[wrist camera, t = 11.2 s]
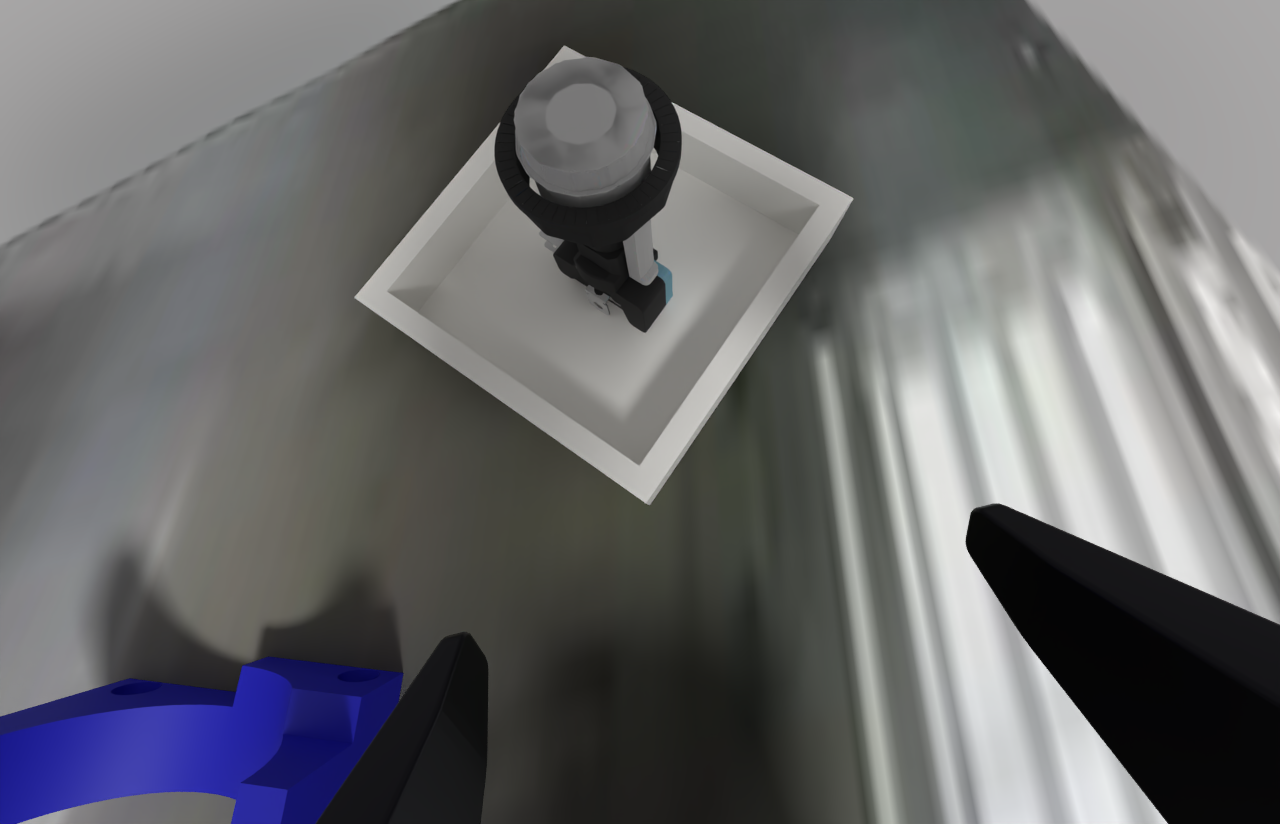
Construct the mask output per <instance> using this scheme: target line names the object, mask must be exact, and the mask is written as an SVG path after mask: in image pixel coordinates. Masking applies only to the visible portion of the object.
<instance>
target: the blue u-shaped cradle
mask: <svg viewBox="0 0 1280 824" xmlns="http://www.w3.org/2000/svg"><path fill="white" fill-rule="evenodd" d="M402 678H403V673H399V672H391V671H383V670H375V669H366V668H358V667H350V666H342V665H334V664H325V663H317V662H309V661H301V660H293V659H284V658H276V657H266V658H263V659H260V660H257V661H254V662H251V663H248V664H246V665H243V666H242V669H241V673H240V678H239V682H238V686H237V691H236V692H231V691H224V690H216V689H208V688H200V687H193V686H185V685H177V684H169V683H162V682H154V681H146V680H138V679H131V678H129V679H126V680H122V681H119V682H116V683H112V684H109V685H106V686H102V687H99V688H95V689H92V690H89V691H85V692H82V693H79V694H75V695H72V696H69V697H65V698H62V699H58V700H55V701H52V702H48V703H45V704H42V705H38V706H35V707H31V708H28V709H25V710H21V711H18V712H15V713H11V714H8V715H4V716H1V717H0V824H17V823H20V822H23V821H26V820H29V819H33V818H36V817H39V816H43V815H46V814H49V813H53V812H57V811H60V810H64V809H68V808H72V807H76V806H80V805H84V804H89V803H93V802H98V801H103V800H108V799H113V798H119V797H125V796H132V795H140V794H148V793H160V792H203V793H211V794H218V795H222V796H226V797H230V798H233V799H236V804H235V809H234V813H233V817H232V822H231V824H315V823H316V822H317V820H318V819H319V817H320V816H321V814H322V813H323V812H324V810H325V809H326V807H327V806H328V804H329V803H330V801H331V800H332V798H333V797H334V796H335V794H336V793H337V791H338V790H339V788H340V787H341V785H342V784H343V782H344V781H345V780H346V778H347V777H348V775H349V774H350V772H351V771H352V769H353V768H354V767H355V765H356V764H357V762H358V761H359V759H360V758H361V756H362V755H363V753H364V752H365V751H366V749H367V748H368V746H369V745H370V743H371V742H372V740H373V739H374V737H375V736H376V735H377V733H378V732H379V730H380V729H381V727H382V726H383V724H384V723H385V721H386V720H387V719H388V717H389V716H390V714H391V713H392V711H393V710H394V708H395V707H396V705H397V704H398V702H399V696H400V690H401V684H402Z"/></svg>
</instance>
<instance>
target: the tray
mask: <svg viewBox="0 0 1280 824" xmlns="http://www.w3.org/2000/svg"><path fill="white" fill-rule="evenodd" d="M580 58H585V56H583V55H581V54H579V53H577V52H576V51H574V50H572V49H570V48H568V47H566V46H563V47H562V49H561V50H560V51H559V52H558V53H557V55H556V56H555V57H554V58H553V60H552V61H551V62H550V63H549V64H548V66H547V67H546V68H545V69H544V70H546V69H548V68H549V67H551V66H552V65H554V64H555V63H560V62H562V61H563V60H571V59H580ZM544 70H543V71H544ZM672 104H673V106H674V107H675V110H676V112H677V114H678V117H679V121H680V125H681V131H682V151H681V160H680V165H679V168H678V171H677V174H676V177H675V179H674V181H673V184H672V187H671V190H670V193H669V196H668V199H667V202H666V205H665V207H664V208H663V209H662V210H661V211H660V212H658V213H657V214H656V215H655V216H654V217H653V218H651V229H652V243H653V248H654V249H655V250H657V251H658V259H657V260H656V261H657V262H659V263H660V264H662V265H663V266H665V267H666V268H668V269H669V270H670V271H671V273H672V292H673V296H672V298H671V299H670V300H669V302H668V303H667V305H666V306H665V308H664V309H663V310H662V312H661V313H660V314H659V316H658V317H657V318H656V320H655V321H654V323H653V324H652V325H651V327H650V328H649V329H648V331H647V332H646V333H644V332H642V331H640V330H638V329H637V328H635V327H634V326H632V325H631V324H630V323H629V321H628V320H627V318H626V316H625V314H624V312H623V310H622V309H621V308H619V307H618V306H616V305H614V304H613V303H611V302H610V301H607V303H606V304H607V305H608V309H609V312H610V315H606V314H604V313H603V312H601V311H600V310H598V309H597V308H595V307H594V306H593V305H592V304H591V303H590V302H589V299H588V296H587V294H586V293H587V292H586V291H585V289H586V287H587V286H585V285H583V284H582V283H580V282H579V281H577V280H576V279H572V278H570V277H568V276H567V275H565V274H564V273H563V272H561V270H560V269H559V268H558V265H557V263H556V261H555V259H554V257H553V254H554V252H552V251H551V250H549V249H548V248H546V247H545V245H544V244H545V242H546V241H547V240H546V239H544V238H542V237H541V236H540V235H539V232H540V231H541V230H540V229H539V228H538V227H537V226H536V225H535V224H534V223H533V222H532V221H531V220H530V219H529V218H528V216H526V215H525V214H524V213H523V212H522V211H521V210H520V209H519V208H518V207H517V206H516V205H515V204H514V203H513V201H512V200H511V199H510V197H509V196H508V194H507V192H506V190H505V188H504V186H503V184H502V182H501V180H500V178H499V175H498V172H497V168H496V164H495V157H494V147H495V139H496V134H497V130H498V127H499V125H500V123H499V124H498V126H497V127H496V128H495V129H494V130H493V132H492V133H491V134H490V135H489V136H488V138H487V139H486V140H485V141H484V142H483V144H482V145H481V146H480V147H479V148H478V150H477V151H476V152H475V153H474V154H473V156H472V157H471V158H470V159H469V160H468V162H467V163H466V164H465V165H464V166H463V168H462V169H461V170H460V171H459V172H458V174H457V175H456V176H455V177H454V178H453V180H452V181H451V182H450V183H449V184H448V186H447V187H446V188H445V189H444V190H443V192H442V193H441V194H440V195H439V196H438V198H437V199H436V200H435V201H434V202H433V204H432V205H431V206H430V207H429V209H428V210H427V211H426V212H425V213H424V215H423V216H422V217H421V218H420V219H419V221H418V222H417V223H416V224H415V225H414V227H413V228H412V229H411V230H410V231H409V233H408V234H407V235H406V236H405V237H404V239H403V240H402V241H401V242H400V243H399V245H398V246H397V247H396V248H395V249H394V251H393V252H392V253H391V254H390V255H389V257H388V258H387V259H386V260H385V261H384V263H383V264H382V265H381V266H380V267H379V269H378V270H377V271H376V272H375V273H374V275H373V276H372V277H371V278H370V279H369V281H368V282H367V283H366V284H365V285H364V287H363V288H362V289H361V290H360V291H359V293H358V294H357V295H356V296H355V297H354V298H355V299H357V300H358V301H360V302H361V303H363V304H364V305H365V306H367V307H368V308H370V309H371V310H372V311H374V312H375V313H377V314H378V315H380V316H381V317H382V318H384V319H385V320H387V321H388V322H390V323H391V324H392V325H394V326H395V327H397V328H398V329H399V330H401V331H402V332H404V333H405V334H407V335H408V336H409V337H411V338H412V339H414V340H415V341H416V342H418V343H419V344H421V345H422V346H424V347H425V348H426V349H428V350H429V351H431V352H432V353H433V354H435V355H436V356H438V357H439V358H441V359H442V360H443V361H445V362H446V363H448V364H449V365H450V366H452V367H453V368H455V369H456V370H458V371H459V372H460V373H462V374H463V375H465V376H466V377H468V378H469V379H470V380H472V381H473V382H475V383H476V384H477V385H479V386H480V387H482V388H483V389H485V390H486V391H487V392H489V393H490V394H492V395H493V396H494V397H496V398H497V399H499V400H500V401H502V402H503V403H504V404H506V405H507V406H509V407H510V408H511V409H513V410H514V411H516V412H517V413H519V414H520V415H521V416H523V417H524V418H526V419H527V420H528V421H530V422H531V423H533V424H534V425H536V426H537V427H538V428H540V429H541V430H543V431H544V432H546V433H547V434H548V435H550V436H551V437H553V438H554V439H555V440H557V441H558V442H560V443H561V444H563V445H564V446H565V447H567V448H568V449H570V450H571V451H572V452H574V453H575V454H577V455H578V456H580V457H581V458H582V459H584V460H585V461H587V462H588V463H589V464H591V465H592V466H594V467H595V468H597V469H598V470H599V471H601V472H602V473H604V474H605V475H606V476H608V477H609V478H611V479H612V480H614V481H615V482H616V483H618V484H619V485H621V486H622V487H624V488H625V489H626V490H628V491H629V492H631V493H632V494H633V495H635V496H636V497H638V498H639V499H641V500H642V501H643V502H645V503H646V504H648V505H650V504H651V503H652V501H653V500H654V499H655V497H656V496H657V494H658V493H659V491H660V490H661V488H662V487H663V485H664V484H665V482H666V481H667V479H668V478H669V476H670V475H671V473H672V472H673V471H674V469H675V468H676V466H677V465H678V463H679V462H680V460H681V459H682V457H683V456H684V454H685V453H686V451H687V450H688V448H689V447H690V445H691V444H692V442H693V441H694V440H695V438H696V437H697V435H698V434H699V432H700V431H701V429H702V428H703V426H704V425H705V423H706V422H707V420H708V419H709V417H710V416H711V414H712V413H713V412H714V410H715V409H716V407H717V406H718V404H719V403H720V401H721V400H722V398H723V397H724V395H725V394H726V392H727V391H728V389H729V388H730V386H731V385H732V383H733V382H734V381H735V379H736V378H737V376H738V375H739V373H740V372H741V370H742V369H743V367H744V366H745V364H746V363H747V361H748V360H749V358H750V357H751V355H752V354H753V353H754V351H755V350H756V348H757V347H758V345H759V344H760V342H761V341H762V339H763V338H764V336H765V335H766V333H767V332H768V330H769V329H770V327H771V326H772V324H773V323H774V322H775V320H776V319H777V317H778V316H779V314H780V313H781V311H782V310H783V308H784V307H785V305H786V304H787V302H788V301H789V299H790V298H791V296H792V295H793V294H794V292H795V291H796V289H797V288H798V286H799V285H800V283H801V282H802V280H803V279H804V277H805V276H806V274H807V273H808V271H809V270H810V268H811V267H812V265H813V264H814V263H815V261H816V260H817V258H818V257H819V255H820V254H821V252H822V251H823V249H824V248H825V246H826V245H827V243H828V242H829V240H830V239H831V237H832V235H833V234H834V232H835V230H836V228H837V227H838V225H839V223H840V221H841V220H842V218H843V216H844V214H845V213H846V211H847V209H848V207H849V205H850V204H851V202H852V200H853V198H852V197H850V196H848V195H847V194H845V193H843V192H841V191H839V190H837V189H835V188H833V187H831V186H829V185H828V184H826V183H824V182H822V181H820V180H818V179H816V178H814V177H812V176H811V175H809V174H807V173H805V172H803V171H801V170H799V169H797V168H795V167H793V166H792V165H790V164H788V163H786V162H784V161H782V160H780V159H778V158H776V157H775V156H773V155H771V154H769V153H767V152H765V151H763V150H761V149H759V148H757V147H756V146H754V145H752V144H750V143H748V142H746V141H744V140H742V139H740V138H739V137H737V136H735V135H733V134H731V133H729V132H727V131H725V130H723V129H721V128H720V127H718V126H716V125H714V124H712V123H710V122H708V121H706V120H704V119H703V118H701V117H699V116H697V115H695V114H693V113H691V112H689V111H687V110H685V109H684V108H682V107H680V106H678V105H676V104H674V103H672ZM657 158H658V154H657V152H656V150H655V149H654V148H653V150H652V153H651V155H650V159H651V170H652V169H653V167H654V165H655V163H656V161H657ZM530 187H531V188H532V189H533V190H534V191H535V192H536V193H537V194H539V195H540V193H539V190H538V188H537V185H536V183H535V180H533V179H532V178H531V177H530ZM540 196H541V195H540ZM549 237H550V236H549ZM553 247H554V248H556V247H557V246H555V245H553ZM595 303H596V302H595ZM596 304H597V305H598V306H600V305H599V304H598V303H596ZM600 307H601V306H600ZM601 308H602V307H601Z"/></svg>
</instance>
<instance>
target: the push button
mask: <svg viewBox="0 0 1280 824" xmlns="http://www.w3.org/2000/svg"><path fill="white" fill-rule="evenodd" d="M653 148H654V149H655V150H656V152H657V154H658V158H657V161H656V163H655V165H654V167H653V169H652V170H651V159H650V155H651V153H652V150H653ZM681 151H682V131H681V125H680V121H679V117H678V114H677V112H676V110H675V107H674V106H673V104H672V102H671V101H670V99H669V98H668V96H667V95H666V94H665V93H664V91H663V90H662V89H661V88H660V87H659V86H657V85H656V84H655V83H654V82H653V81H651V80H650V79H648V78H647V77H645V76H644V75H642V74H640V73H638V72H636V71H633V70H630V69H628V68H624V67H622V66H621V65H619V64H615V63H612V62H608V61H605V60H602V59H598V58H595V57H585V58H580V59H571V60H563V61H562V62H560V63H555V64H554V65H552V66H551V67H549V68H548V69H546V70H544V71H542V72H540V73H538V74H537V75H536V77H535V78H534V79H533V80H532V81H530V82H529V83H528V84H527V86H526V88H525V89H524V91H522V92H521V93H520V94H519V95H518V96H517V97H516V99H515V100H514V101H513V102H512V103H511V105H510V106H509V108H508V109H507V111H506V112H505V114H504V116H503V118H502V120H501V122H500V125H499V127H498V130H497V134H496V139H495V147H494V157H495V164H496V168H497V172H498V175H499V178H500V180H501V182H502V184H503V186H504V188H505V190H506V192H507V194H508V196H509V197H510V199H511V200H512V201H513V203H514V204H515V205H516V206H517V207H518V208H519V209H520V210H521V211H522V212H523V213H524V214H525V215H526V216H528V218H529V219H530V220H531V221H532V222H533V223H534V224H535V225H536V226H537V227H538V228H539V229H540V230H541V231H540V232H539V235H540V236H541V237H542V238H544V239H546V240H547V241H546V242H545V244H544V245H545V247H546V248H548V249H549V250H551V251H552V252H554V254H553V257H554V259H555V261H556V263H557V265H558V268H559V269H560V270H561V272H563V273H564V274H565V275H567V276H568V277H570V278H572V279H576V280H577V281H579V282H580V283H582V284H583V285H585V286H587V287H586V289H585V291H586V292H587V293H586V294H587V296H588V299H589V302H590V303H591V304H592V305H593V306H594V307H595V308H597V309H598V310H600V311H601V312H603V313H604V314H606V315H610V312H609V309H608V305H607V304H606V303H607V301H610V302H611V303H613V304H614V305H616V306H618V307H619V308H621V309H622V310H623V312H624V314H625V316H626V318H627V320H628V321H629V323H630V324H631V325H632V326H634V327H635V328H637V329H638V330H640V331H642V332H644V333H646V332H647V331H648V329H649V328H650V327H651V325H652V324H653V323H654V321H655V320H656V318H657V317H658V316H659V314H660V313H661V312H662V310H663V309H664V308H665V306H666V305H667V303H668V302H669V300H670V299H671V298H672V296H673V292H672V273H671V271H670V270H669V269H668V268H666V267H665V266H663V265H662V264H660V263H659V262H657V261H656V260H657V259H658V251H657V250H655V249H654V248H653V243H652V229H651V218H653V217H654V216H655V215H656V214H657V213H658V212H660V211H661V210H662V209H663V208H664V207H665V205H666V202H667V199H668V196H669V193H670V190H671V187H672V184H673V181H674V179H675V177H676V174H677V171H678V168H679V165H680V160H681ZM530 177H531V178H532V179H533V180H535V183H536V185H537V188H538V190H539V193H540V195H541V196H540V195H539V194H537V193H536V192H535V191H534V190H533V189H532V188H531V187H530ZM549 236H550V237H549ZM553 245H555V246H557V247H556V248H554V247H553ZM595 302H596V303H598V304H599V305H600V306H601V307H602V308H601V307H600V306H598V305H597V304H596V303H595Z"/></svg>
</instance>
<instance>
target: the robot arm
mask: <svg viewBox="0 0 1280 824" xmlns="http://www.w3.org/2000/svg"><path fill="white" fill-rule="evenodd" d="M966 547H967V550H968V552H969V554H970V556H971V557H972V559H973V561H974V562H975V564H976V565H977V567H978V568H979V570H980V572H981V573H982V575H983V576H984V578H985V579H986V581H987V583H988V584H989V586H990V587H991V589H992V590H993V592H994V594H995V595H996V597H997V598H998V600H999V601H1000V603H1001V605H1002V606H1003V608H1004V609H1005V611H1006V612H1007V614H1008V616H1009V617H1010V619H1011V620H1012V622H1013V623H1014V625H1015V626H1016V628H1017V629H1018V631H1019V632H1020V634H1021V635H1022V637H1023V638H1024V639H1025V641H1026V642H1027V643H1028V645H1029V646H1030V647H1031V649H1032V650H1033V651H1034V652H1035V654H1036V655H1037V656H1038V658H1039V659H1040V660H1041V661H1042V663H1043V664H1044V665H1045V667H1046V668H1047V669H1048V670H1049V672H1050V673H1051V674H1052V676H1053V677H1054V678H1055V679H1056V681H1057V682H1058V683H1059V685H1060V686H1061V687H1062V688H1063V690H1064V691H1065V692H1066V693H1067V695H1068V696H1069V697H1070V699H1071V700H1072V701H1073V702H1074V704H1075V705H1076V706H1077V708H1078V709H1079V710H1080V711H1081V713H1082V714H1083V715H1084V717H1085V718H1086V719H1087V720H1088V722H1089V723H1090V724H1091V726H1092V727H1093V728H1094V729H1095V731H1096V732H1097V733H1098V734H1099V736H1100V737H1101V738H1102V740H1103V741H1104V742H1105V743H1106V745H1107V746H1108V747H1109V749H1110V750H1111V751H1112V752H1113V754H1114V755H1115V756H1116V758H1117V759H1118V760H1119V761H1120V763H1121V764H1122V765H1123V767H1124V768H1125V769H1126V770H1127V772H1128V773H1129V774H1130V775H1131V777H1132V778H1133V779H1134V781H1135V782H1136V783H1137V784H1138V786H1139V787H1140V788H1141V790H1142V791H1143V792H1144V793H1145V795H1146V796H1147V797H1148V799H1149V800H1150V801H1151V802H1152V804H1153V805H1154V806H1155V807H1156V809H1157V810H1158V811H1159V813H1160V814H1161V815H1162V816H1163V818H1164V819H1165V820H1166V822H1167V823H1168V824H1280V625H1279V624H1277V623H1275V622H1272V621H1270V620H1268V619H1266V618H1263V617H1261V616H1259V615H1256V614H1254V613H1252V612H1249V611H1247V610H1245V609H1242V608H1240V607H1238V606H1236V605H1233V604H1231V603H1229V602H1226V601H1224V600H1222V599H1219V598H1217V597H1215V596H1212V595H1210V594H1208V593H1206V592H1203V591H1201V590H1199V589H1196V588H1194V587H1192V586H1189V585H1187V584H1185V583H1183V582H1180V581H1178V580H1176V579H1173V578H1171V577H1169V576H1166V575H1164V574H1162V573H1159V572H1157V571H1155V570H1153V569H1150V568H1148V567H1146V566H1143V565H1141V564H1139V563H1136V562H1134V561H1132V560H1129V559H1127V558H1125V557H1123V556H1120V555H1118V554H1116V553H1113V552H1111V551H1109V550H1106V549H1104V548H1102V547H1099V546H1097V545H1095V544H1093V543H1090V542H1088V541H1086V540H1083V539H1081V538H1079V537H1076V536H1074V535H1072V534H1069V533H1067V532H1065V531H1063V530H1060V529H1058V528H1056V527H1053V526H1051V525H1049V524H1046V523H1044V522H1042V521H1040V520H1037V519H1035V518H1033V517H1030V516H1028V515H1026V514H1023V513H1021V512H1019V511H1016V510H1014V509H1012V508H1010V507H1007V506H1005V505H1002V504H990V505H986V506H981V507H977V508H975V509H974V510H973V511H972V512H971V515H970V520H969V525H968V530H967V535H966ZM487 737H488V663H487V660H486V657H485V655H484V654H483V652H482V651H481V649H480V648H479V646H478V645H477V643H476V642H475V640H474V639H473V637H472V636H471V634H470V633H467V632H462V633H457V634H453V635H449V636H447V637H445V638H444V639H442V640H441V642H440V643H439V644H438V646H437V647H436V649H435V650H434V652H433V653H432V655H431V656H430V657H429V659H428V660H427V662H426V663H425V665H424V666H423V668H422V669H421V671H420V672H419V673H418V675H417V676H416V678H415V679H414V681H413V682H412V684H411V685H410V687H409V688H408V689H407V691H406V692H405V694H404V695H403V697H402V698H401V700H400V701H399V703H398V704H397V705H396V707H395V708H394V710H393V711H392V713H391V714H390V716H389V717H388V719H387V720H386V721H385V723H384V724H383V726H382V727H381V729H380V730H379V732H378V733H377V735H376V736H375V737H374V739H373V740H372V742H371V743H370V745H369V746H368V748H367V749H366V751H365V752H364V753H363V755H362V756H361V758H360V759H359V761H358V762H357V764H356V765H355V767H354V768H353V769H352V771H351V772H350V774H349V775H348V777H347V778H346V780H345V781H344V782H343V784H342V785H341V787H340V788H339V790H338V791H337V793H336V794H335V796H334V797H333V798H332V800H331V801H330V803H329V804H328V806H327V807H326V809H325V810H324V812H323V813H322V814H321V816H320V817H319V819H318V820H317V822H316V823H315V824H480V823H481V814H482V805H483V796H484V787H485V778H486V767H487Z"/></svg>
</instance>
